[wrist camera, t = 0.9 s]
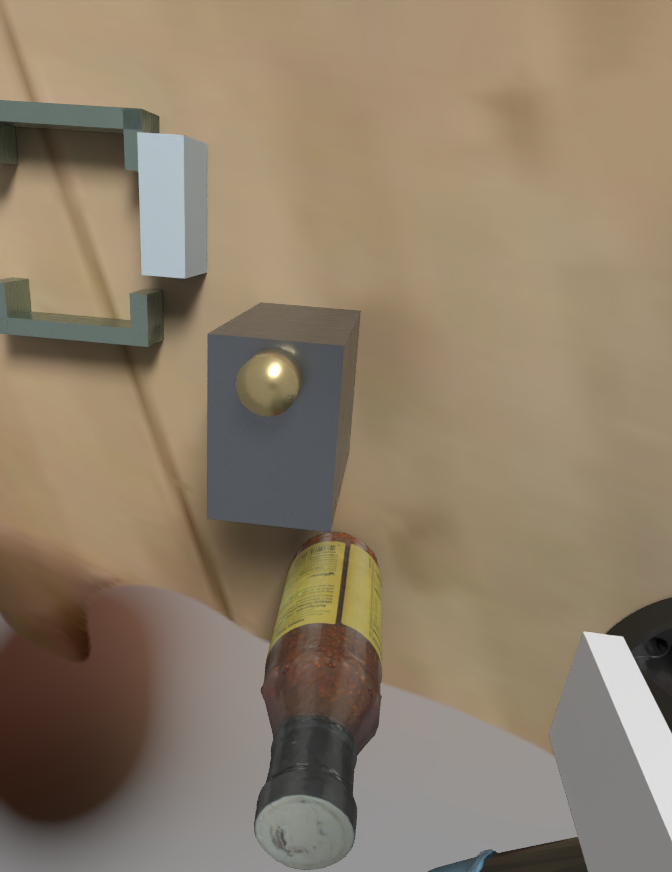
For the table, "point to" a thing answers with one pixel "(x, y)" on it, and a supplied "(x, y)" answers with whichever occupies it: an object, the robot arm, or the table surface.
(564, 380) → the table surface
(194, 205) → the light grey rectangular block
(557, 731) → the robot arm
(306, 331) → the grey box with knob
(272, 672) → the sauce bottle
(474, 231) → the table surface
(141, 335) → the socket
